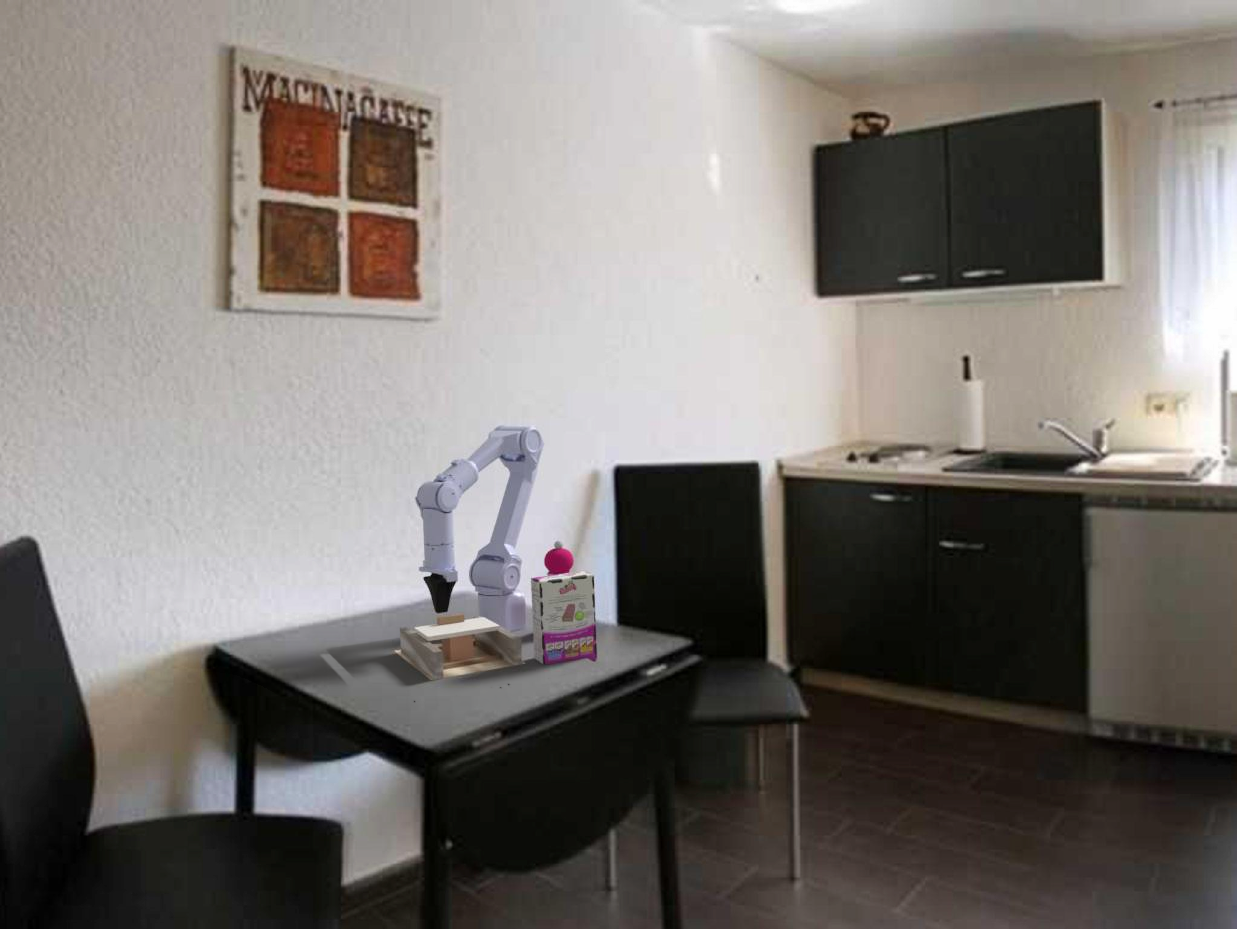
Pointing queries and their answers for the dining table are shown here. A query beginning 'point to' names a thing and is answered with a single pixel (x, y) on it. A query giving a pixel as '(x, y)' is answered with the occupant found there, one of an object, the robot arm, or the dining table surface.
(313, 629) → the dining table surface
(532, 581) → the candy bar box
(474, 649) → the beige wooden low frame
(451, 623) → the sliding lid
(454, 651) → the terracotta block
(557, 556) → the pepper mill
